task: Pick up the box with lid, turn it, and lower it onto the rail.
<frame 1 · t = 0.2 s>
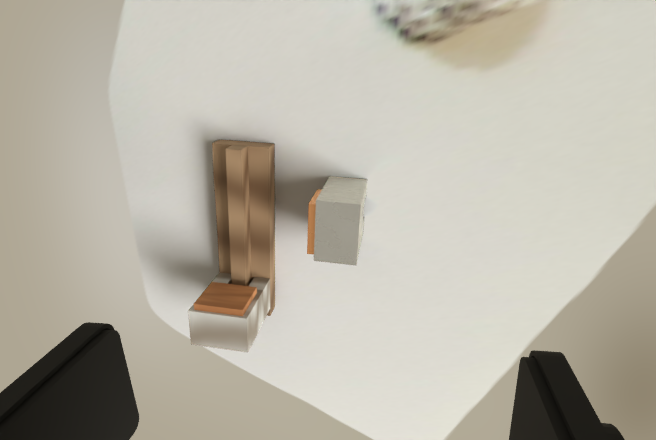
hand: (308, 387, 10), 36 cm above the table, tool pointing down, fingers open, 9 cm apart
rail: (249, 228, 49), on the table
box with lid: (346, 204, 47), on the table
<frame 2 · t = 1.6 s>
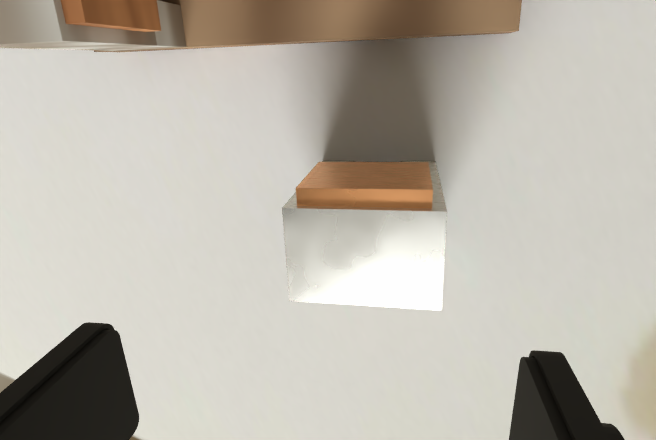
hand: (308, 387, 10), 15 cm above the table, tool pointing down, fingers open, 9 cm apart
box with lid: (377, 197, 24), on the table
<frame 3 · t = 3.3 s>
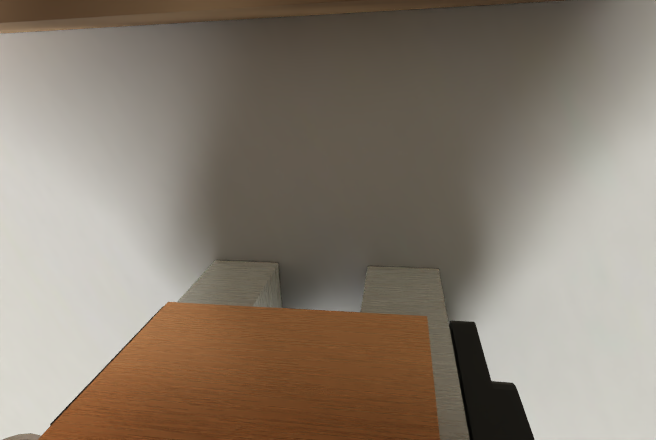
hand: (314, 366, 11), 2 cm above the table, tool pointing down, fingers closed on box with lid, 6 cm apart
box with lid: (325, 328, 12), on the table, touching gripper
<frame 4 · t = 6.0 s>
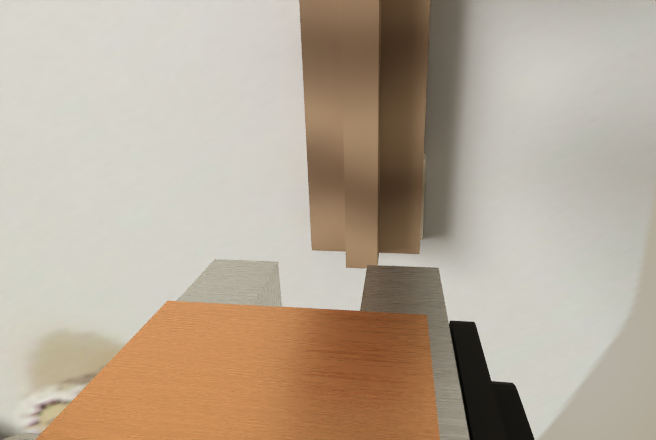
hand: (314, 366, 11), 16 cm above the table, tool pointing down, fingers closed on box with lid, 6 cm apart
rail: (366, 61, 23), on the table
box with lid: (324, 327, 12), point 14 cm above the table, touching gripper
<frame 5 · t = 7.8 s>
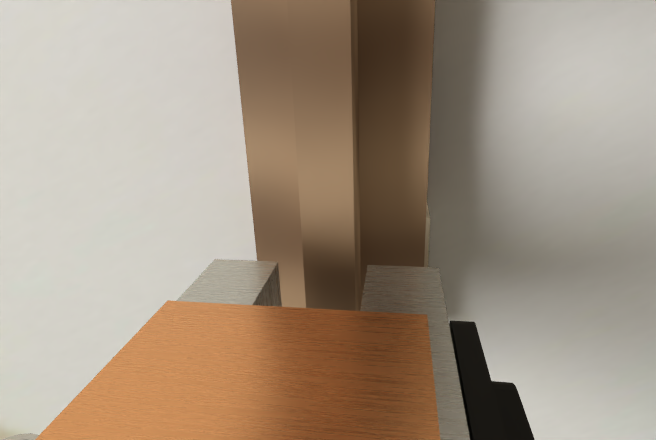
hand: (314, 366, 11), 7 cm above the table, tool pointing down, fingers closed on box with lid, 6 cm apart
rail: (340, 70, 15), on the table
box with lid: (324, 327, 12), point 6 cm above the table, touching gripper
when the fingers open (5 cm above the table, at t = 9.0 s): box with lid stays where it is, resting on rail.
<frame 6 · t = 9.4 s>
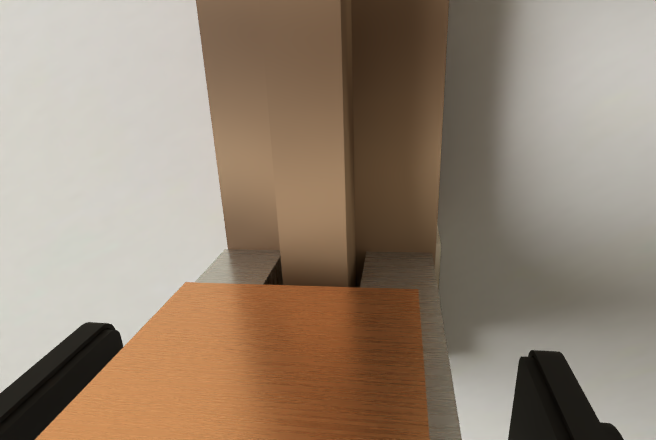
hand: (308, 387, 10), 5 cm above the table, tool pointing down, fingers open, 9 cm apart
rail: (331, 62, 12), on the table
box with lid: (328, 311, 13), point 2 cm above the table, touching rail
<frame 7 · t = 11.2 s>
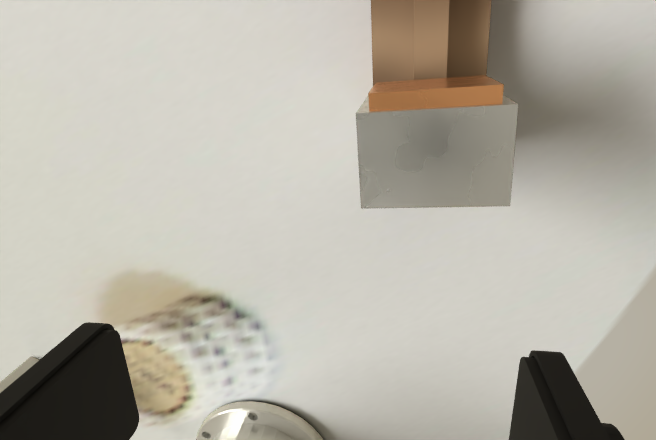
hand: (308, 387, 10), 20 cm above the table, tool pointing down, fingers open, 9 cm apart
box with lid: (426, 123, 24), point 2 cm above the table, touching rail
lighter: (65, 375, 41), on the table
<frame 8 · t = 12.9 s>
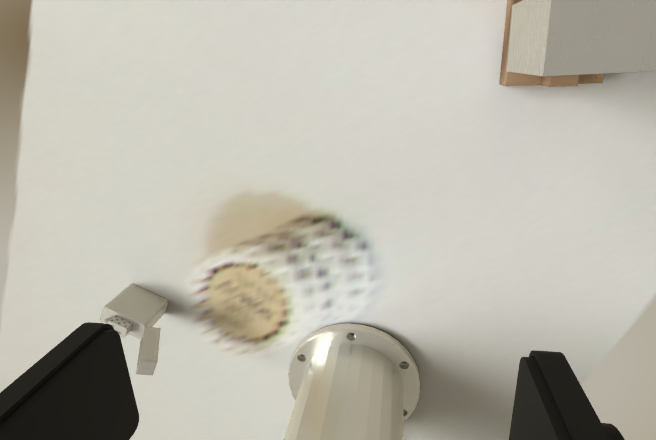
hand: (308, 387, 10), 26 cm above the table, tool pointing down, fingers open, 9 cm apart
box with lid: (558, 36, 28), point 2 cm above the table, touching rail
lighter: (162, 303, 43), on the table
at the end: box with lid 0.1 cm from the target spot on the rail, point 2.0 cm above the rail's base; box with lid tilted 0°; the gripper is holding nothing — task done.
